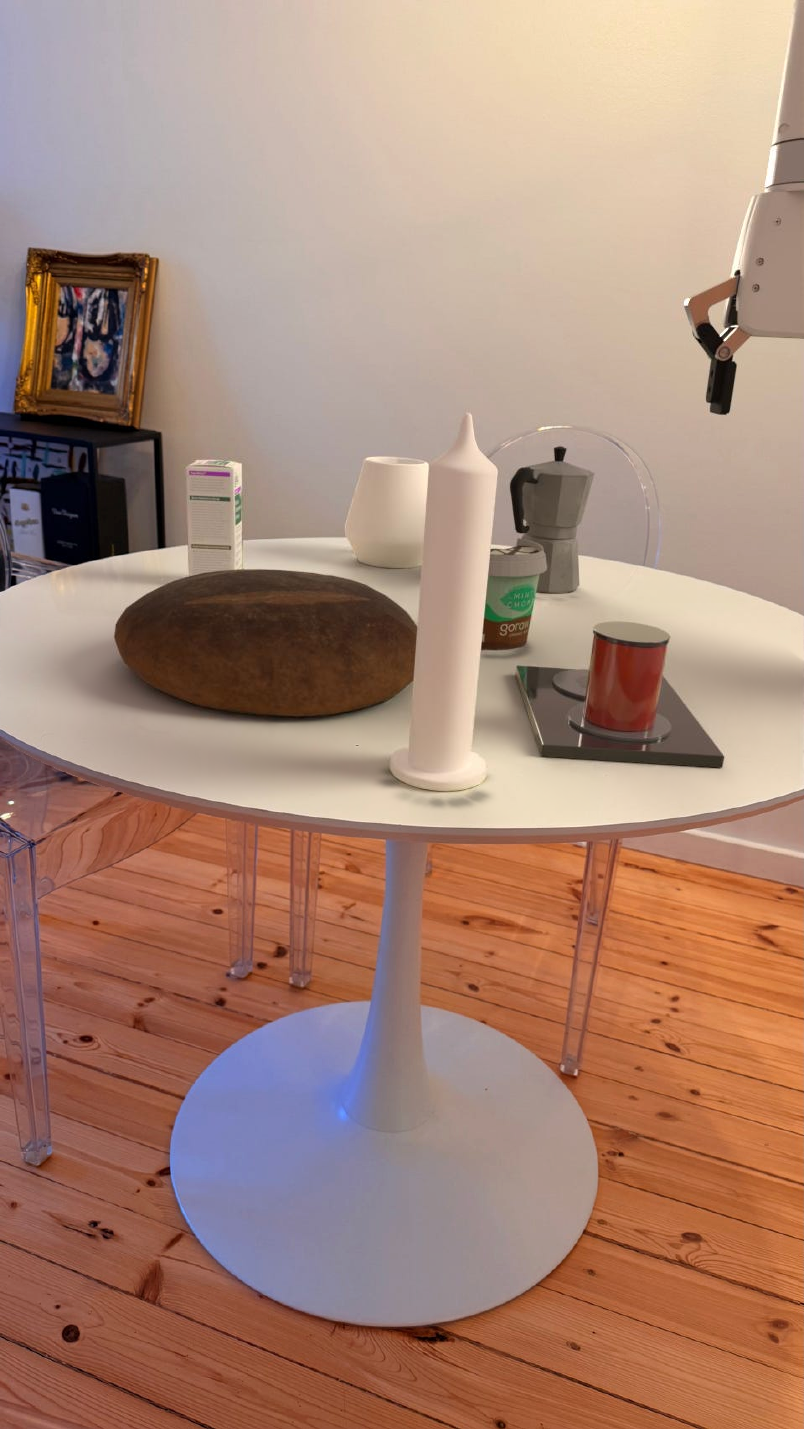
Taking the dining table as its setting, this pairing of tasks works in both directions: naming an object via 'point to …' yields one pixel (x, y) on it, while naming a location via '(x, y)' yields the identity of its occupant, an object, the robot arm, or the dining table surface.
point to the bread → (270, 642)
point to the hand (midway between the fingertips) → (778, 416)
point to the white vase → (389, 512)
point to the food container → (511, 594)
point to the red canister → (625, 675)
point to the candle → (450, 620)
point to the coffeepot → (552, 516)
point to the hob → (570, 735)
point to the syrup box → (214, 516)
